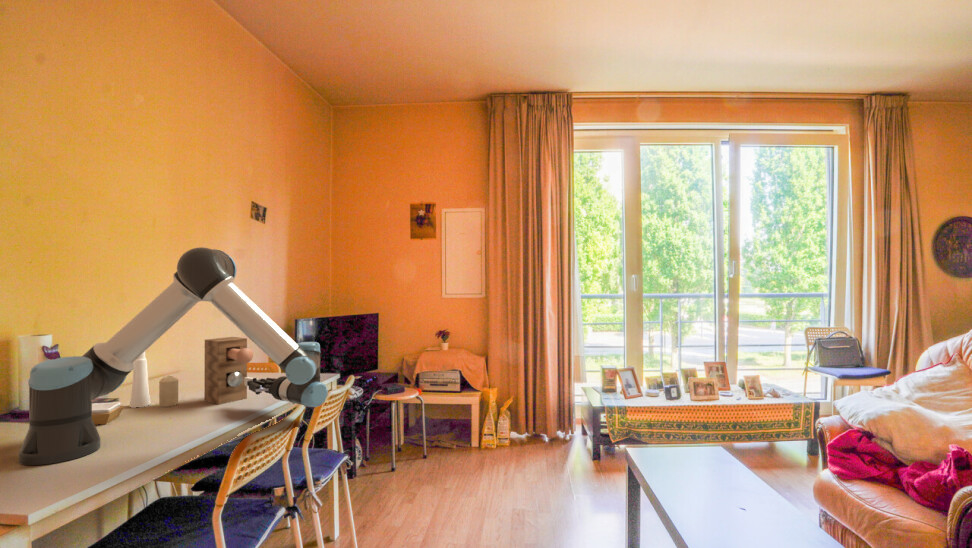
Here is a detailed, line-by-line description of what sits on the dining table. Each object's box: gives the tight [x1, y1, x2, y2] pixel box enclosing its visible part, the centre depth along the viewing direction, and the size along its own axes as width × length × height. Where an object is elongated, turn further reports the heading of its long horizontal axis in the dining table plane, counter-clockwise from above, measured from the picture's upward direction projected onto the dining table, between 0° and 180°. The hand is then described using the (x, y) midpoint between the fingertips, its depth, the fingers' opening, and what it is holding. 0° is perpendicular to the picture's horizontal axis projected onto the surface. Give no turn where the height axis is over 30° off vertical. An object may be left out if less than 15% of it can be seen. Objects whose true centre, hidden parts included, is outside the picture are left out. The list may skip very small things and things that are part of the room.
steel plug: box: [226, 372, 243, 387], centre depth 168 cm, size 11×5×5 cm, turn 57°
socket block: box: [203, 336, 248, 405], centre depth 169 cm, size 10×10×22 cm
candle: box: [158, 375, 179, 408], centre depth 162 cm, size 6×6×10 cm
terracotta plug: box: [226, 347, 254, 364], centre depth 165 cm, size 11×5×5 cm, turn 57°
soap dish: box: [92, 401, 125, 426], centre depth 142 cm, size 12×10×5 cm
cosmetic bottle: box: [128, 351, 152, 409], centre depth 161 cm, size 6×6×22 cm
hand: (246, 381), depth 162 cm, fingers closed
